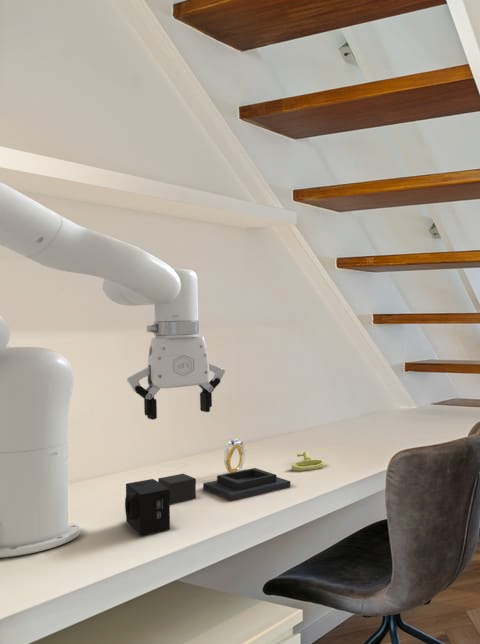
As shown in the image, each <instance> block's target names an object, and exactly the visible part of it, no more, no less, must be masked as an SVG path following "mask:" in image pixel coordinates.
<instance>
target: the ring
mask: <svg viewBox="0 0 480 644" xmlns="http://www.w3.org/2000/svg"><path fill="white" fill-rule="evenodd" d="M231 446H232V447H231ZM230 448H231V449H230ZM236 450H237V451H238V454H239V455H238V456H239V461H238V464H237V466H236V467H234V468H232V465H231V461H232V457H233V454H234V452H235V451H236ZM223 459H224V460H223V463H224V468H225V469H226V471H227V472H228V473H232V472H237V471H241V469H242V468H243V466H244V463H245V461H246V447H245V442H244V441H243V440H241V438H229V441H227V442H226V444H225V449H224V457H223Z"/></svg>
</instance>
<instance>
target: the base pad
mask: <svg viewBox="0 0 480 644" xmlns="http://www.w3.org/2000/svg"><path fill="white" fill-rule="evenodd" d="M290 487H291V481H290V480H288V479H286V478H282V477H278V476H277V474H276V473H272V472H269V471H266V470H262V469H261V468H260V469H259V468H256V467H253V468H247V469H242V470H239V471H237V472H232V473H230V472H228V473H223V474H218V475H217V476H216V480H212V481H206V482H203V483H202V488H203V490H205V491H207V492H210V493H213V494H215V495H217V496H220V497H222V498H224V499H227V500H229V501H231V502H234V501H236V500H237V501H238V500H241V499H245V498H249V497H254V496H258V495H262V494H266V493H271V492H274V491H279V490H283V489H287V488H288V489H289V488H290Z"/></svg>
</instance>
